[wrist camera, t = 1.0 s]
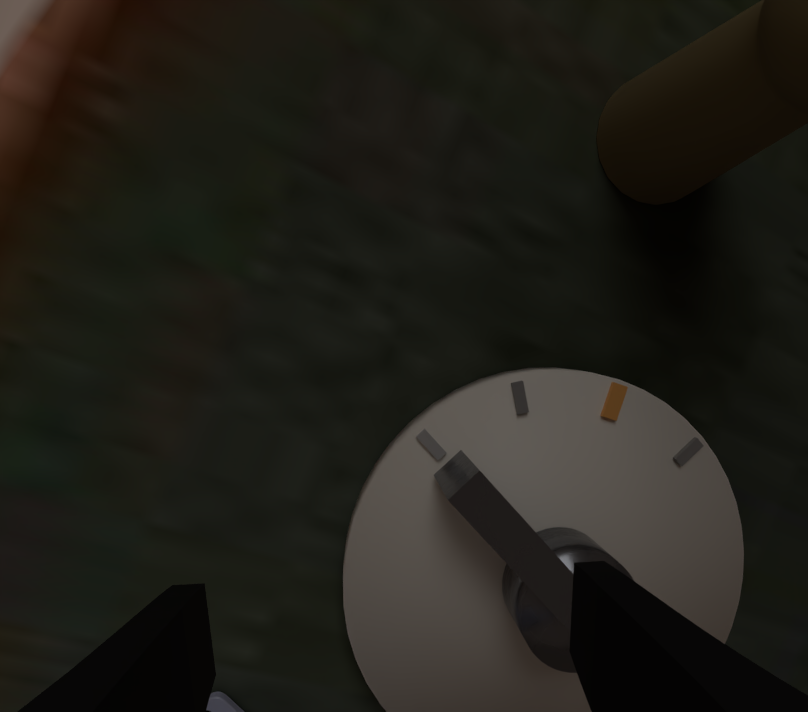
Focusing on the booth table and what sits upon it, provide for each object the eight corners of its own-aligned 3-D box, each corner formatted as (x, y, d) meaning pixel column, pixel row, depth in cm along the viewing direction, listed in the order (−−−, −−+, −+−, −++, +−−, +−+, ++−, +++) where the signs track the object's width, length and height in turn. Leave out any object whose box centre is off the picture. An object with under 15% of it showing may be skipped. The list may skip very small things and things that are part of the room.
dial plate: (521, 822, 24) (533, 859, 23) (255, 562, 22) (248, 581, 20) (788, 561, 25) (820, 578, 23) (560, 284, 23) (577, 280, 21)
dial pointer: (629, 580, 22) (673, 620, 19) (550, 657, 22) (582, 709, 19) (489, 423, 21) (513, 439, 18) (404, 502, 21) (413, 531, 18)
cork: (738, 127, 23) (1083, -48, 12) (668, 230, 23) (954, 144, 12) (644, 46, 22) (923, -217, 12) (571, 152, 22) (784, -13, 12)
